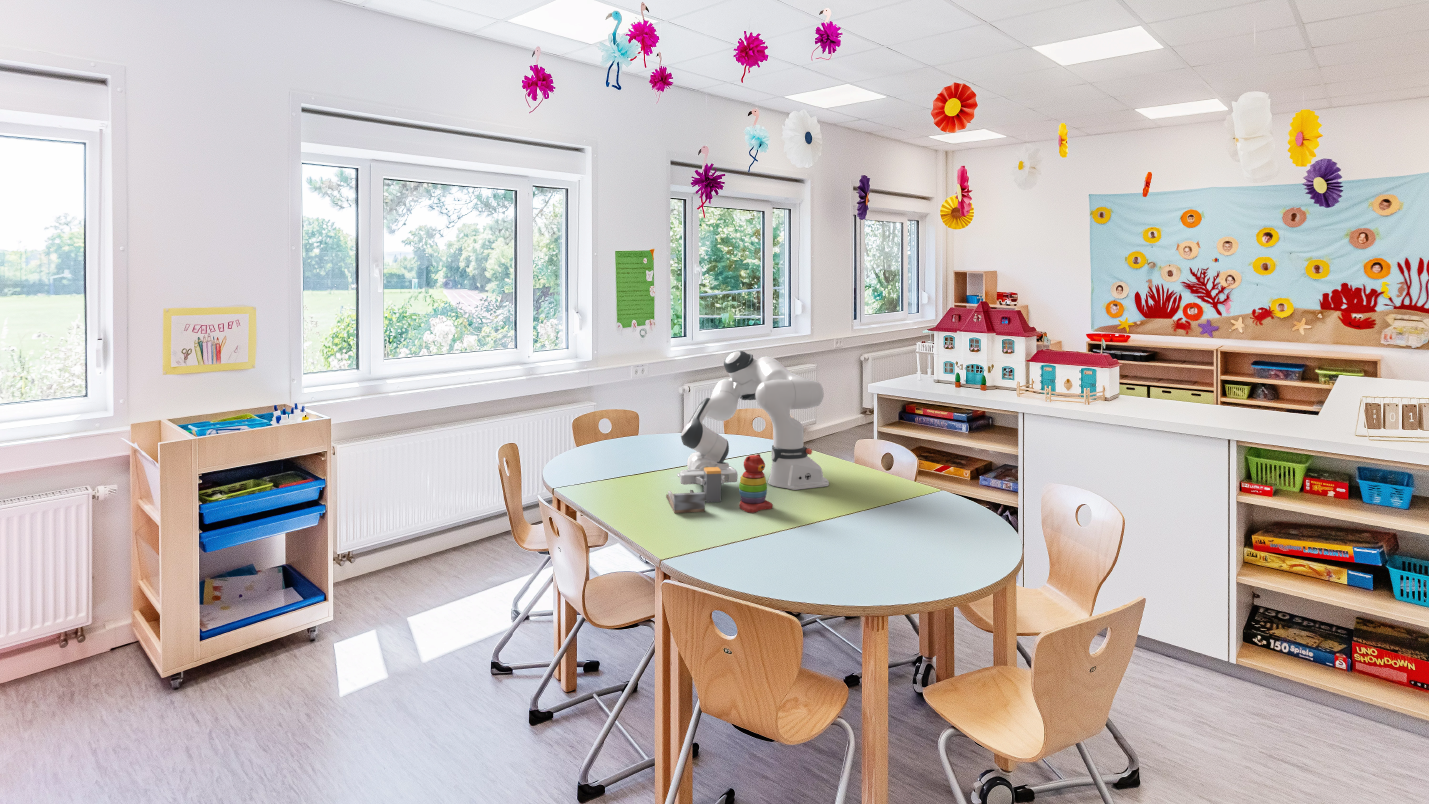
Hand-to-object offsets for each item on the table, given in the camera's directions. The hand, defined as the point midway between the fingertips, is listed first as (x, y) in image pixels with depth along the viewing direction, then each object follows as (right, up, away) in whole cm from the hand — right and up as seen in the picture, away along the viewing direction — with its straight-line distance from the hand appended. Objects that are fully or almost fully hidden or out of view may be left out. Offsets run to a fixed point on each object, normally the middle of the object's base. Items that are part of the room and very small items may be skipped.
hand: (712, 482), depth 261 cm
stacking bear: (+14, -8, -5) cm, 17 cm away
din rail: (-9, -7, -3) cm, 12 cm away
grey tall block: (0, -6, +2) cm, 7 cm away
